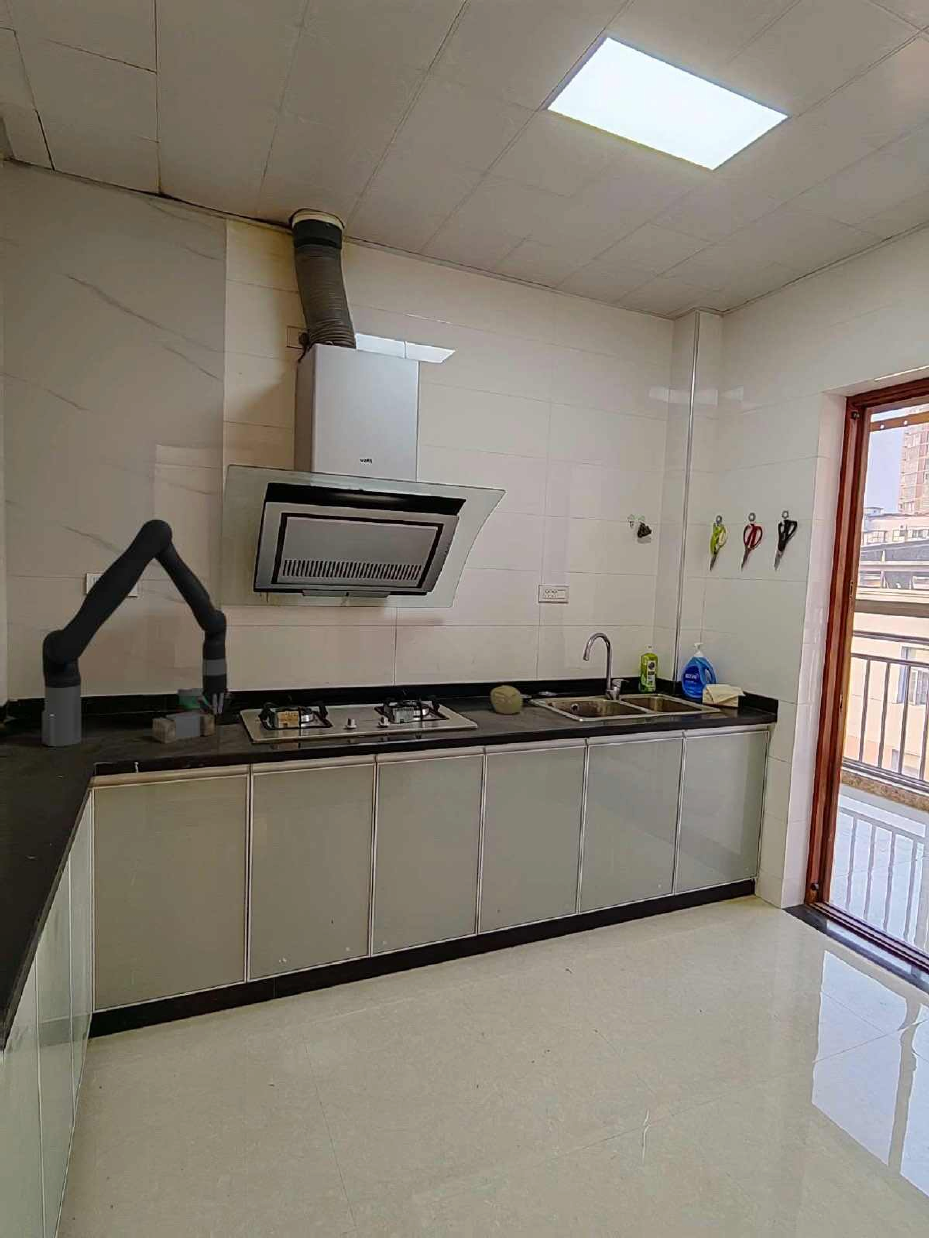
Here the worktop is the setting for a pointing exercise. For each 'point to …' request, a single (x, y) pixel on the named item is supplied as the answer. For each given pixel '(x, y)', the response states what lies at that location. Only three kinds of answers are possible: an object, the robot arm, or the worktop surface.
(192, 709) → the food container
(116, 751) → the worktop surface
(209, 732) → the block
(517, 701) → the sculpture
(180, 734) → the block
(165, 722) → the beige brown block
